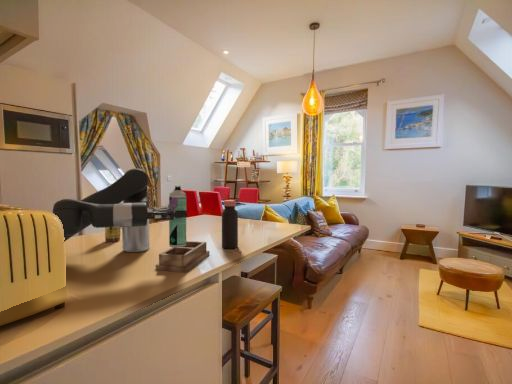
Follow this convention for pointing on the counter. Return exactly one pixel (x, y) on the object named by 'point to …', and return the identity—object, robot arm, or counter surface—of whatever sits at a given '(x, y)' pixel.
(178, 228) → the spray can
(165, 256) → the rack
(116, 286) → the counter surface
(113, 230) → the sauce bottle
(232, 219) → the vinegar
